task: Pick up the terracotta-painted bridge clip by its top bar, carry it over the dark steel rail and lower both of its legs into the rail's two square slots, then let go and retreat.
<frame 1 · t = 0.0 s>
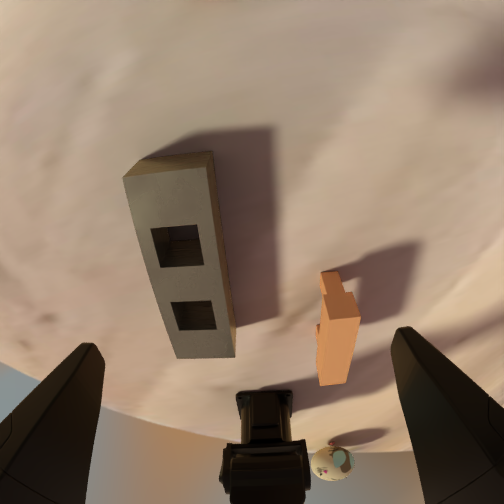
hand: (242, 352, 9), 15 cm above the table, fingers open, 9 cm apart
rail: (193, 256, 25), on the table
clip: (326, 305, 28), on the table
figurine: (330, 443, 45), on the table
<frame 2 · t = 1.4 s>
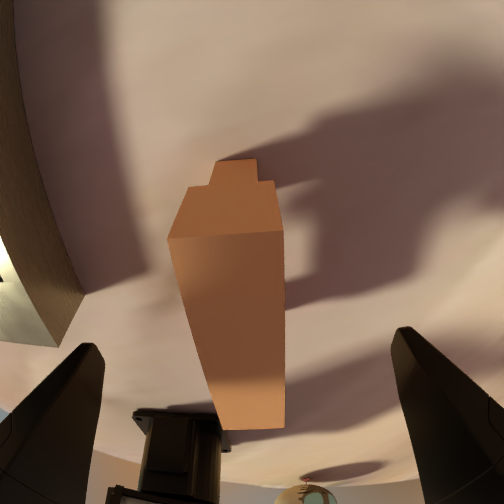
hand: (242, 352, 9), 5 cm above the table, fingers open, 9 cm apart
clip: (244, 250, 13), on the table
figurine: (303, 478, 31), on the table
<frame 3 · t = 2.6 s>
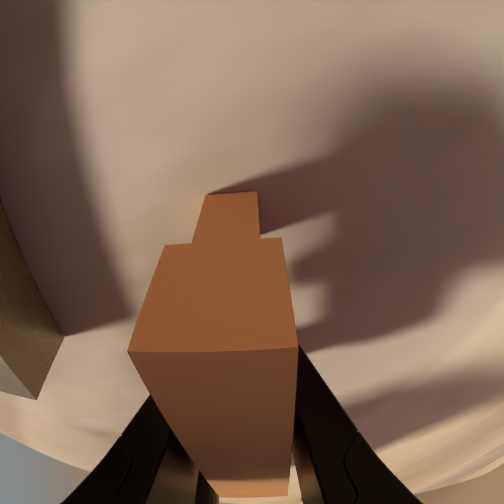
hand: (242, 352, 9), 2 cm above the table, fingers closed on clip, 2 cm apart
clip: (243, 297, 11), on the table, touching gripper
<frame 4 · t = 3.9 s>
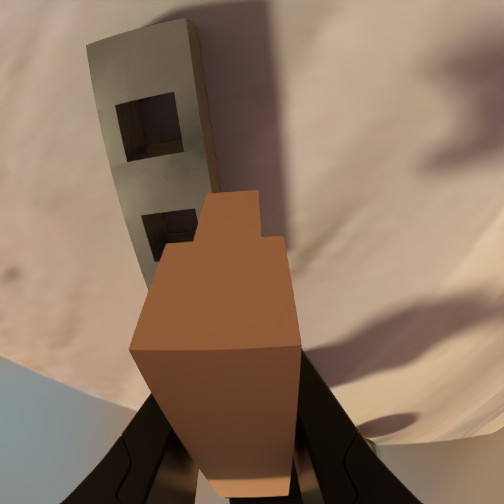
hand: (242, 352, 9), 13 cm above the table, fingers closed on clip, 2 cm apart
rail: (174, 164, 19), on the table
clip: (243, 296, 11), point 10 cm above the table, touching gripper
figurine: (352, 434, 38), on the table
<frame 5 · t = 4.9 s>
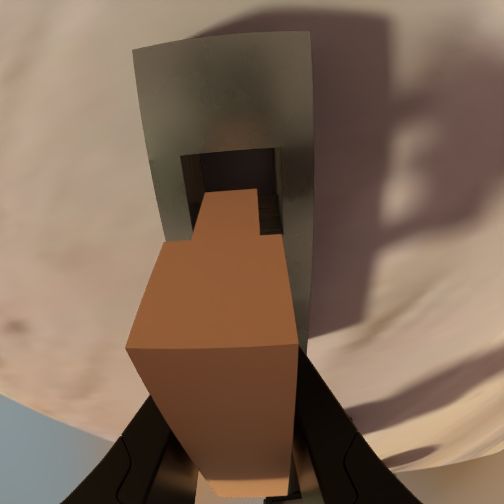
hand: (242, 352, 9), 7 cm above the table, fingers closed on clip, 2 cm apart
rail: (243, 227, 15), on the table
clip: (242, 296, 11), point 5 cm above the table, touching gripper
when the fingers open (4 cm above the table, at t = 5.6 s): clip drops 1 cm, resting on rail.
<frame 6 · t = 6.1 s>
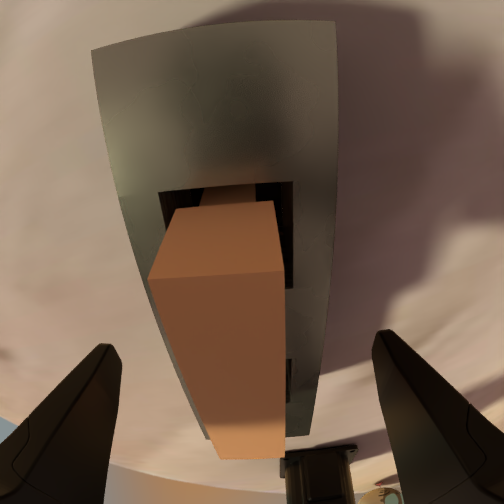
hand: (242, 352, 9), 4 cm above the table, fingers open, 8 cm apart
rail: (243, 264, 12), on the table
clip: (242, 269, 12), resting on rail
figurine: (376, 483, 33), on the table
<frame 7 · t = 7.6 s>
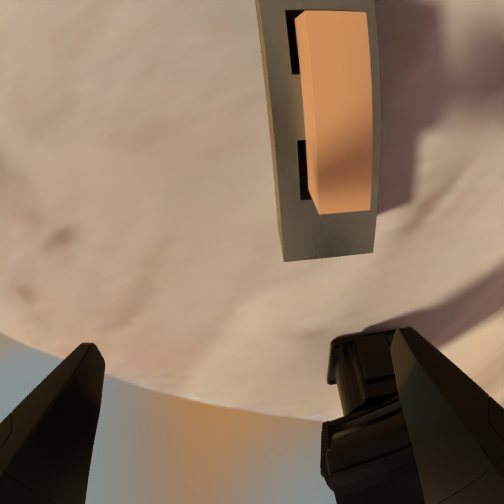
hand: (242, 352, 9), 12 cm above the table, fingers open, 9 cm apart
rail: (313, 97, 16), on the table
clip: (314, 97, 15), resting on rail
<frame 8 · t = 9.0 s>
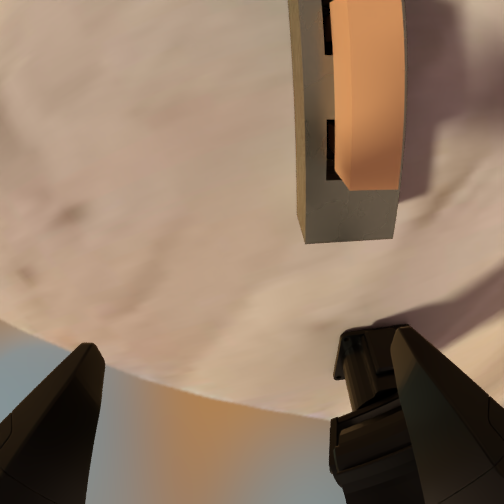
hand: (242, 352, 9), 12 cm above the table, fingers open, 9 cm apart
rail: (338, 83, 15), on the table
clip: (340, 82, 15), resting on rail
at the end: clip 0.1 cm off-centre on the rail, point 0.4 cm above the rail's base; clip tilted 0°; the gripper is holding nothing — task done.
